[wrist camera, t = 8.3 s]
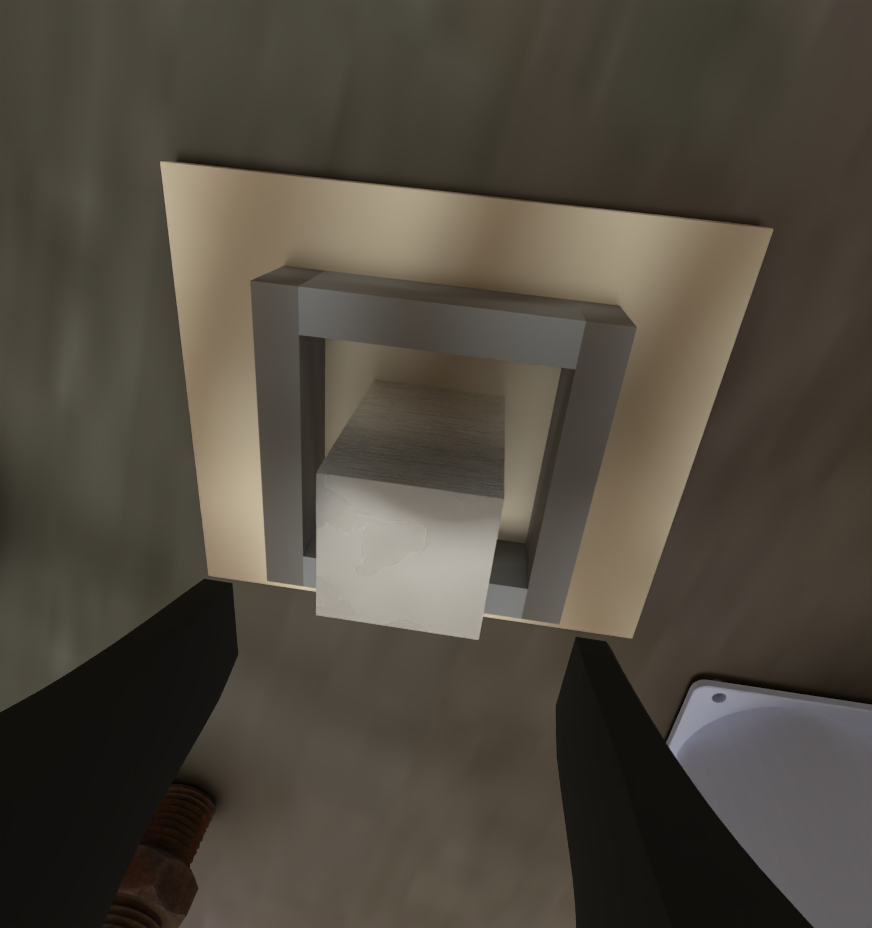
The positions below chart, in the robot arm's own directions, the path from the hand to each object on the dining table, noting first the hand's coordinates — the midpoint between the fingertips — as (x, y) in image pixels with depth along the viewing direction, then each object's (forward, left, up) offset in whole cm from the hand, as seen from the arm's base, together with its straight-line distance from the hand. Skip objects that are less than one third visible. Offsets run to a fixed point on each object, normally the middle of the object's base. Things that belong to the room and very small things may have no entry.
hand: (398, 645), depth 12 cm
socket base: (0, -1, -8) cm, 9 cm away
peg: (0, -1, -8) cm, 8 cm away
